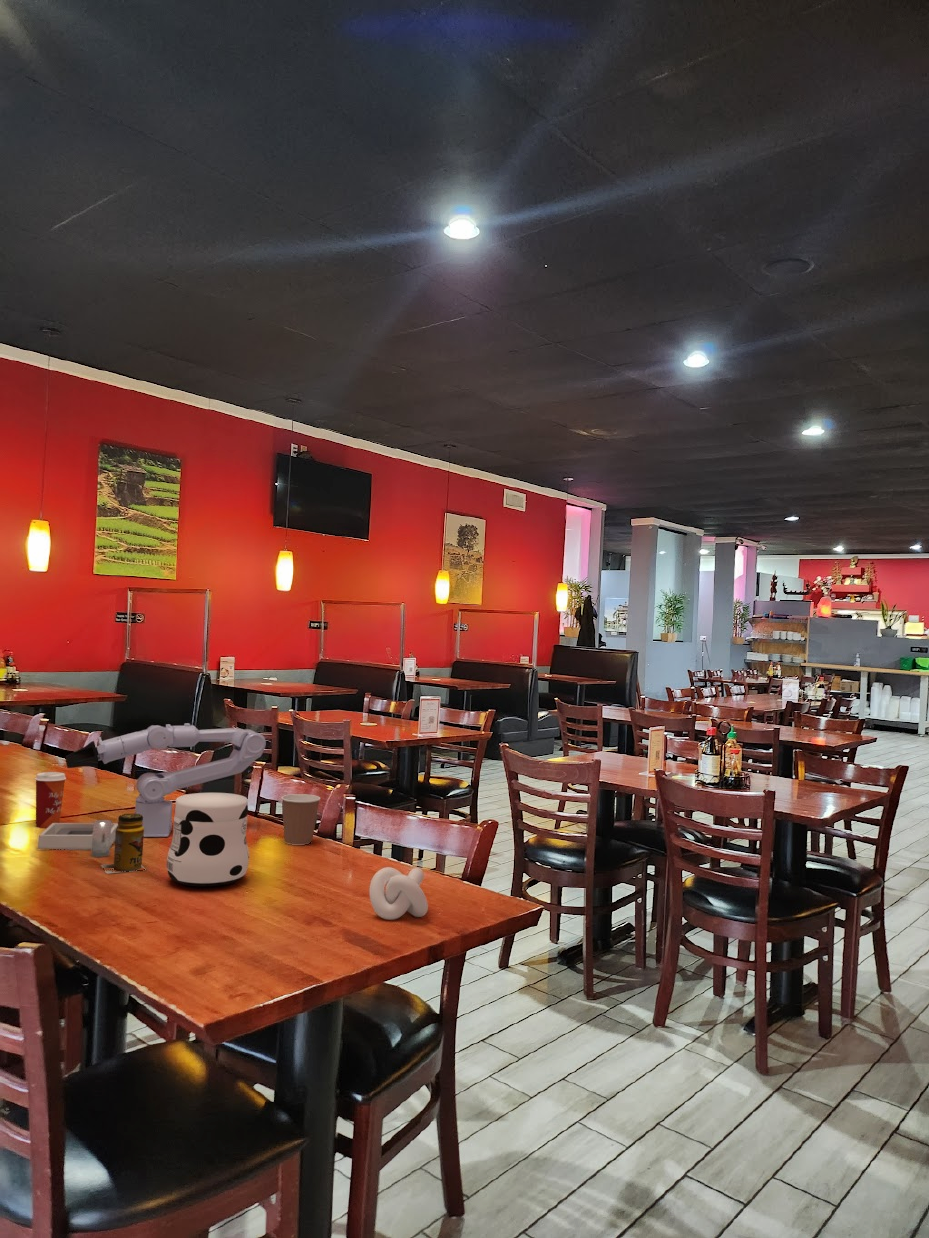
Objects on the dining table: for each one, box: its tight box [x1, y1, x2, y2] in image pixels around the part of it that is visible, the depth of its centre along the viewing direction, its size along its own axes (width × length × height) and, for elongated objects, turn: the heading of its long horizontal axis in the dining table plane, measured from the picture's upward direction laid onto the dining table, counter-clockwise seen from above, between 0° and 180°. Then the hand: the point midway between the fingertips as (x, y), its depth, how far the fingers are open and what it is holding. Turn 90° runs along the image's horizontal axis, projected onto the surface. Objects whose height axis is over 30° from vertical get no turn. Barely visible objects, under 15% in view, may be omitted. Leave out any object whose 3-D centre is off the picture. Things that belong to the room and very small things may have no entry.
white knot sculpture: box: [369, 866, 429, 921], centre depth 170 cm, size 11×12×9 cm
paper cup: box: [34, 771, 67, 829], centre depth 231 cm, size 8×8×14 cm
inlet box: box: [37, 822, 118, 851], centre depth 214 cm, size 16×14×4 cm
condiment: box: [100, 813, 147, 875], centre depth 194 cm, size 7×8×12 cm
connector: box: [90, 819, 113, 858], centre depth 204 cm, size 4×4×8 cm
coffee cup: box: [280, 793, 321, 846], centre depth 226 cm, size 10×10×12 cm
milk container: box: [166, 792, 250, 888], centre depth 187 cm, size 17×17×18 cm
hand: (66, 762), depth 217 cm, fingers open, 7 cm apart
